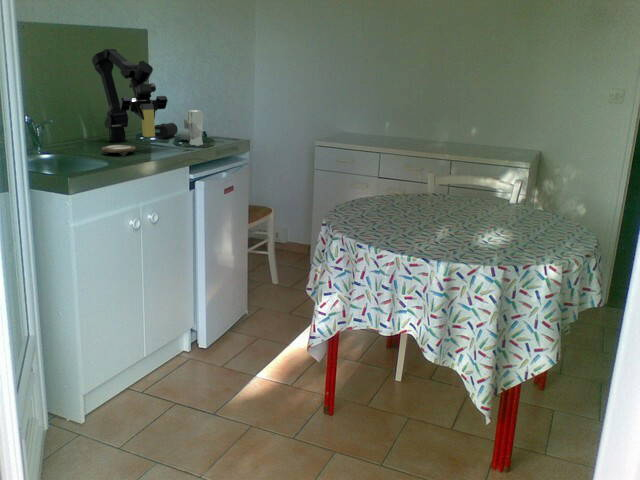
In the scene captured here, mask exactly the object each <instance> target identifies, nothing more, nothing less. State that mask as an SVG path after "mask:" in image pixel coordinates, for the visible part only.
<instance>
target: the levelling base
mask: <svg viewBox="0 0 640 480" xmlns="http://www.w3.org/2000/svg"><path fill="white" fill-rule="evenodd" d="M101 151H102V153H103V154H104V155H109V154H110V153H118V154H119V155H120V156H121V155H122V156H121V157H125V155H126V156H127V155H128V153H131V152H135V151H136V146H135V145H131V144H112V145H105V146H102V147H101Z"/></svg>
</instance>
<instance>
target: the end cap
mask: <svg viewBox="0 0 640 480" xmlns="http://www.w3.org/2000/svg"><path fill="white" fill-rule="evenodd" d="M154 125H155V124H154ZM156 131H158V132H156ZM177 133H178V125H177V124H175V123H174V122H169V123H160V124H156V125H155V137H154V138H158V139H157V140H166V139H169V138H172V137H174V136H175V135H176V134H177Z"/></svg>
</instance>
